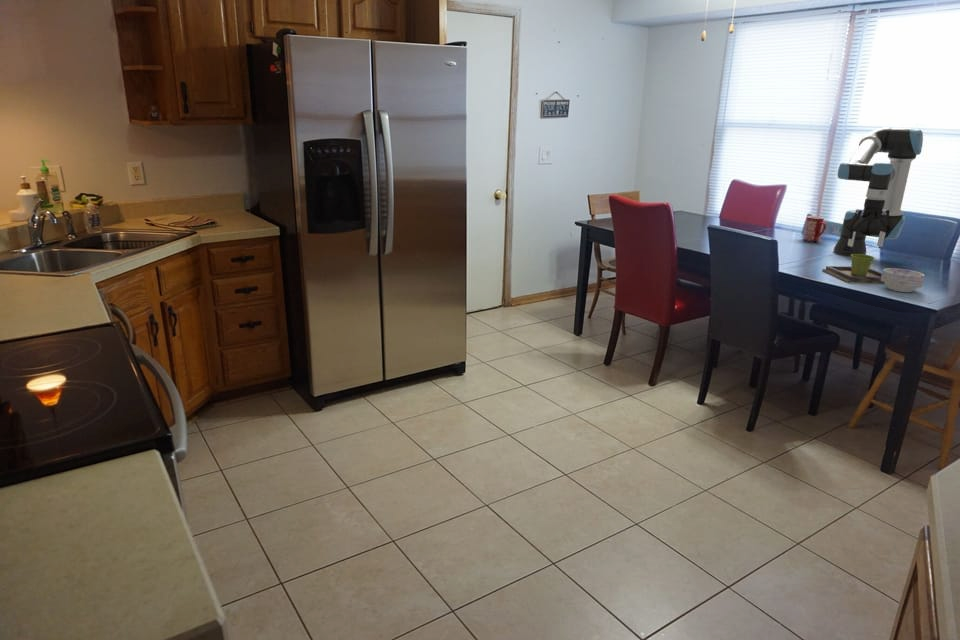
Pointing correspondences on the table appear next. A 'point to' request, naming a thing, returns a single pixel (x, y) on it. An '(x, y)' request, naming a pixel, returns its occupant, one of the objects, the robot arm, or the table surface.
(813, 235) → the mug
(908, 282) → the paper bowls
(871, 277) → the wooden tray
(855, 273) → the plant pot
